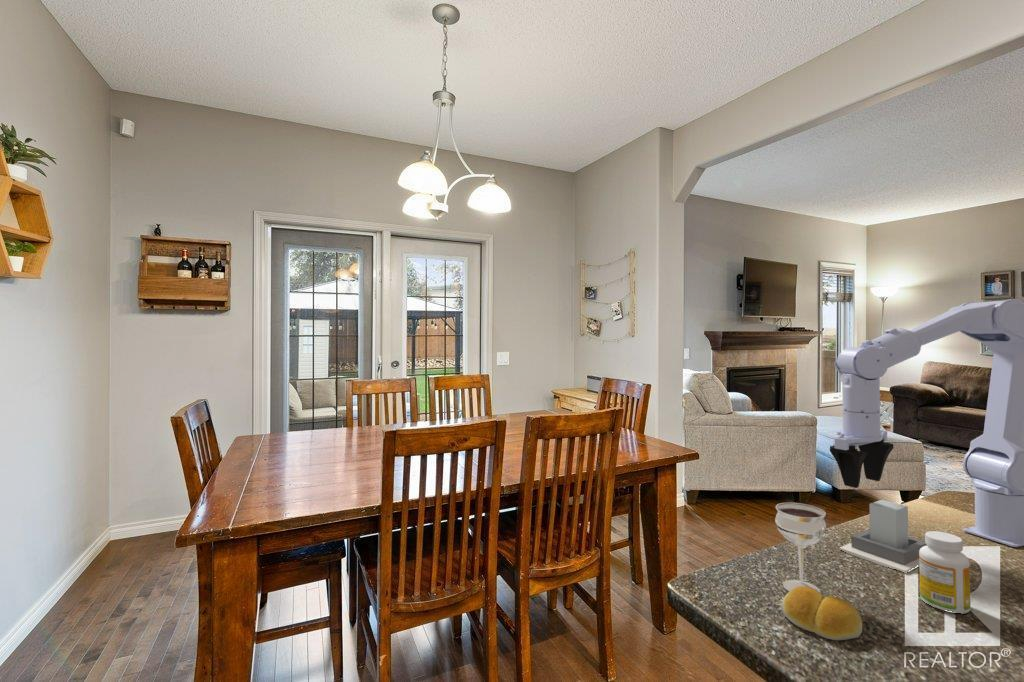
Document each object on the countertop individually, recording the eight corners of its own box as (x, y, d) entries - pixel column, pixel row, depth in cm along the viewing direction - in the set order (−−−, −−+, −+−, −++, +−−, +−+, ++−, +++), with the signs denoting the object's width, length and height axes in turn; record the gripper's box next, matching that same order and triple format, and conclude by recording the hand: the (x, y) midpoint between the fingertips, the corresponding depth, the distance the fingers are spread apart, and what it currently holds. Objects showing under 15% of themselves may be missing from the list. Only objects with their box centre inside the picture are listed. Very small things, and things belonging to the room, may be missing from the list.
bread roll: (853, 652, 60) (853, 620, 60) (775, 621, 66) (774, 592, 66) (870, 624, 65) (869, 594, 65) (796, 598, 72) (795, 571, 72)
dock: (875, 536, 92) (874, 522, 92) (940, 556, 83) (940, 542, 83) (839, 550, 87) (839, 536, 87) (905, 573, 78) (905, 558, 78)
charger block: (882, 543, 88) (881, 499, 88) (908, 552, 84) (907, 506, 84) (870, 548, 86) (869, 503, 86) (896, 557, 82) (895, 510, 82)
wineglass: (800, 603, 70) (799, 520, 70) (766, 580, 77) (764, 504, 77) (839, 596, 72) (837, 515, 72) (802, 574, 78) (800, 500, 78)
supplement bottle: (950, 594, 71) (949, 529, 71) (981, 616, 66) (980, 544, 66) (910, 593, 72) (909, 528, 72) (938, 614, 67) (937, 544, 67)
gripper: (858, 405, 98) (859, 472, 98) (816, 411, 91) (818, 483, 92) (899, 409, 92) (900, 480, 92) (858, 416, 85) (859, 494, 85)
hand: (862, 483), depth 91 cm, fingers open, 7 cm apart
